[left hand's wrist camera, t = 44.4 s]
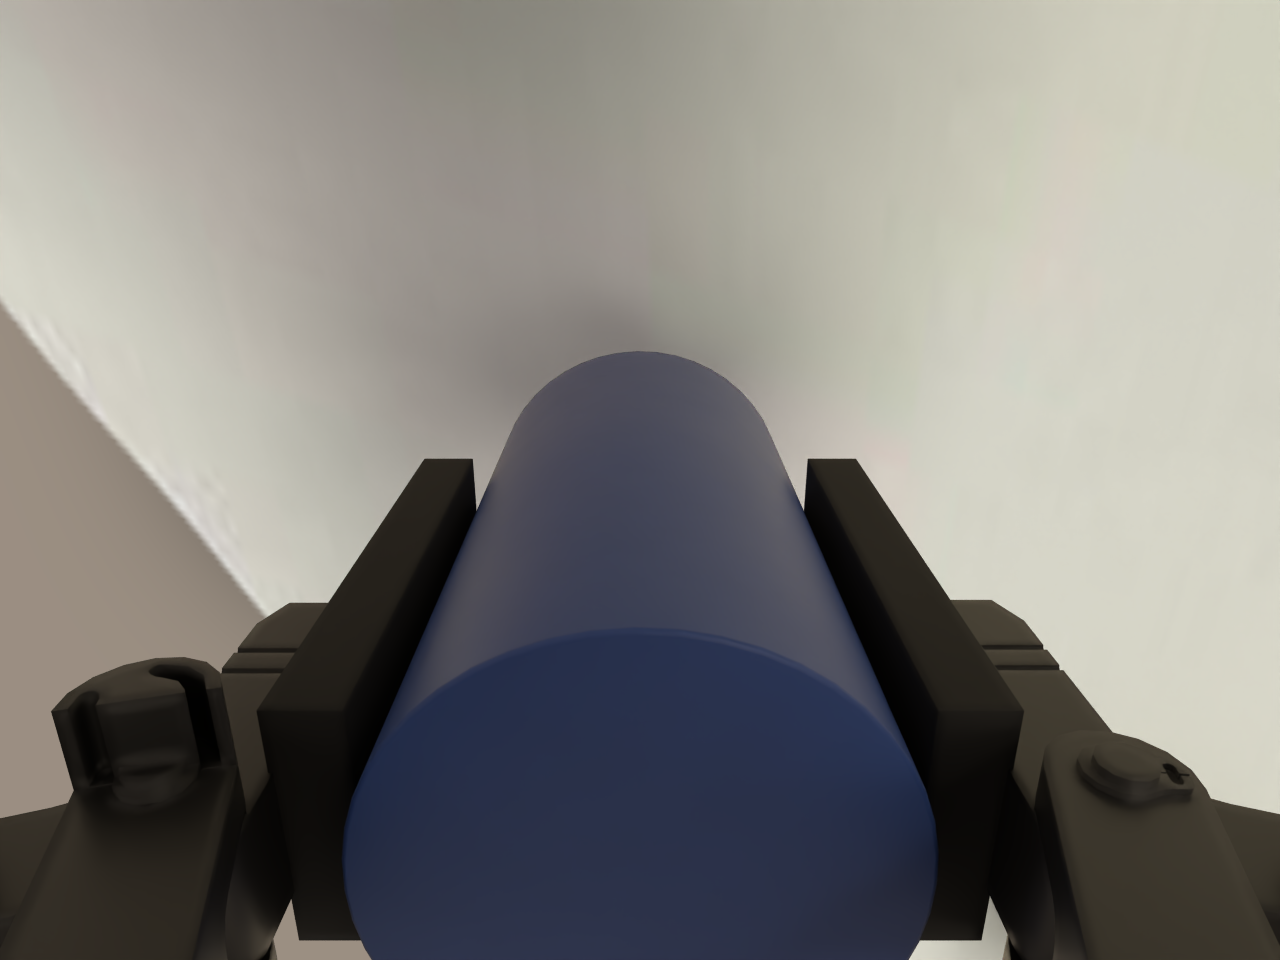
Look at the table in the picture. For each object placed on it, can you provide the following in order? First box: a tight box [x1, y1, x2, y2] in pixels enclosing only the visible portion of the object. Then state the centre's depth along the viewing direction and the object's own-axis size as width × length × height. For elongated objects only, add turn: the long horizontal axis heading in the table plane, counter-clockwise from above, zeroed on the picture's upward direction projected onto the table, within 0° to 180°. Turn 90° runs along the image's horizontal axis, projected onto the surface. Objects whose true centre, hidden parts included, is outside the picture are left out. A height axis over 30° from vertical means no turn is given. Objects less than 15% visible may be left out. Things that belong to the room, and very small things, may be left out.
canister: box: [342, 351, 939, 960], centre depth 12 cm, size 5×5×10 cm
